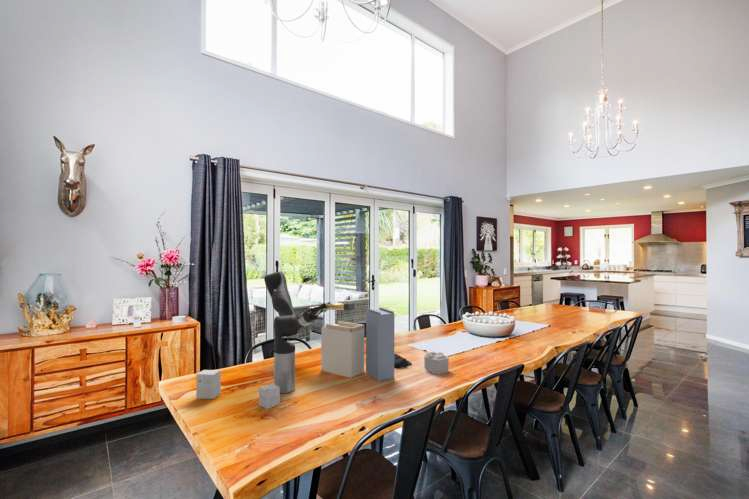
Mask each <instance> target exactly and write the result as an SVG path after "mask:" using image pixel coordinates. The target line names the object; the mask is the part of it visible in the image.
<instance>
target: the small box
mask: <svg viewBox="0 0 749 499" xmlns="http://www.w3.org/2000/svg"><path fill="white" fill-rule="evenodd" d="M195 375H196V377H195V378H196V379H195V381H196V383H195V384H196V389H195V391H196V399H198V400H199V399H201V400H214V399H216V398H217V397H219V396H220V395H221V394H222V391H221V390H222V388H221V377H222V376H221V370H219V369H218V370H217V369H203V370H201V371H199V372H197V373H196V374H195Z"/></svg>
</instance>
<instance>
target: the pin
mask: <svg viewBox="0 0 749 499" xmlns="http://www.w3.org/2000/svg"><path fill="white" fill-rule="evenodd" d="M322 304H323V303H319V304H318V306H320V305H322ZM321 310H327V311H330V310H331V311H334V310H335V311H354V310H355V303H354V302H349V303H331V304H327V303H326V307H325V308H324V309H321Z"/></svg>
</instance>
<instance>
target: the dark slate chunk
mask: <svg viewBox="0 0 749 499" xmlns="http://www.w3.org/2000/svg"><path fill="white" fill-rule="evenodd" d="M412 364H413V363H412V362H410V361H409V360H407V358H405V357H402V356H401V355H400V354H397V353H394V370H395V369H400V368H401V367H403V368H407V367H409V365H410V366H412ZM406 366H407V367H406Z"/></svg>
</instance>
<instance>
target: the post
mask: <svg viewBox="0 0 749 499" xmlns="http://www.w3.org/2000/svg"><path fill="white" fill-rule="evenodd" d="M365 322H366V323H365V331H366V332H365V373H366V374H368V375H369V376H370V377H371V378H373V379H374V380H376V381H377V382H381V381H387V380H391V379H395V369H394V354H395V313H394V311H393V310H391V309H386V308H384V307H379V308H378V309H372V308H366V310H365Z"/></svg>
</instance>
